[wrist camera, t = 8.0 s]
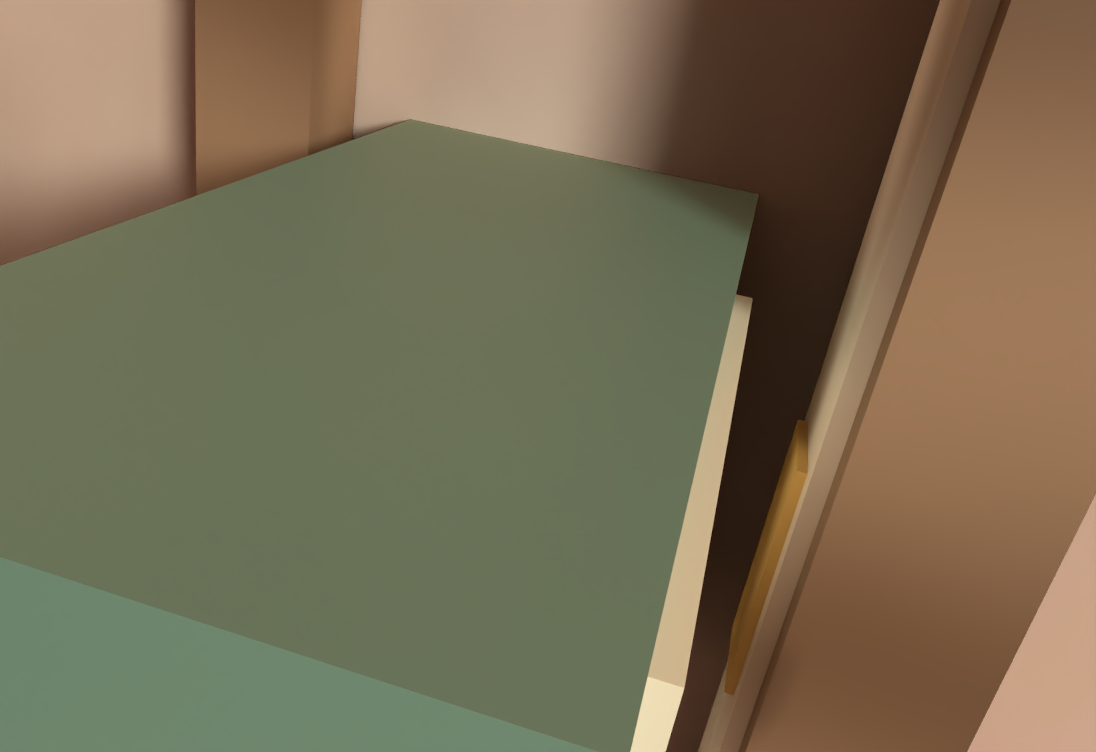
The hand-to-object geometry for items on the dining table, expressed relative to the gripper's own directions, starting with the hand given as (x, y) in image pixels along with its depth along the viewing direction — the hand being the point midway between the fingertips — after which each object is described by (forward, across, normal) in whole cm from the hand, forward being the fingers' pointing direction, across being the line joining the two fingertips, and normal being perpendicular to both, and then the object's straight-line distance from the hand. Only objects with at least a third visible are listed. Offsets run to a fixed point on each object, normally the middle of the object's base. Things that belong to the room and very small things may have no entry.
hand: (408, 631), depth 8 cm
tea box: (+5, 0, 0) cm, 5 cm away
